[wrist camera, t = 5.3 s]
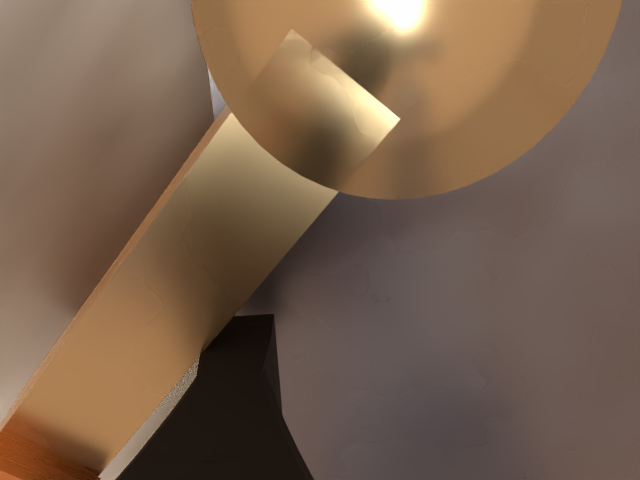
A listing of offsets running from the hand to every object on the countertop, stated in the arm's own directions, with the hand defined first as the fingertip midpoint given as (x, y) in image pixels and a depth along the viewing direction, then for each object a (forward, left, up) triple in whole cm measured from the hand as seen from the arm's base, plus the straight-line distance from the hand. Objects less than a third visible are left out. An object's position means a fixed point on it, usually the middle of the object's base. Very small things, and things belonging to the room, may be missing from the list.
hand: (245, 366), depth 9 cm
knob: (+3, 0, -1) cm, 3 cm away
